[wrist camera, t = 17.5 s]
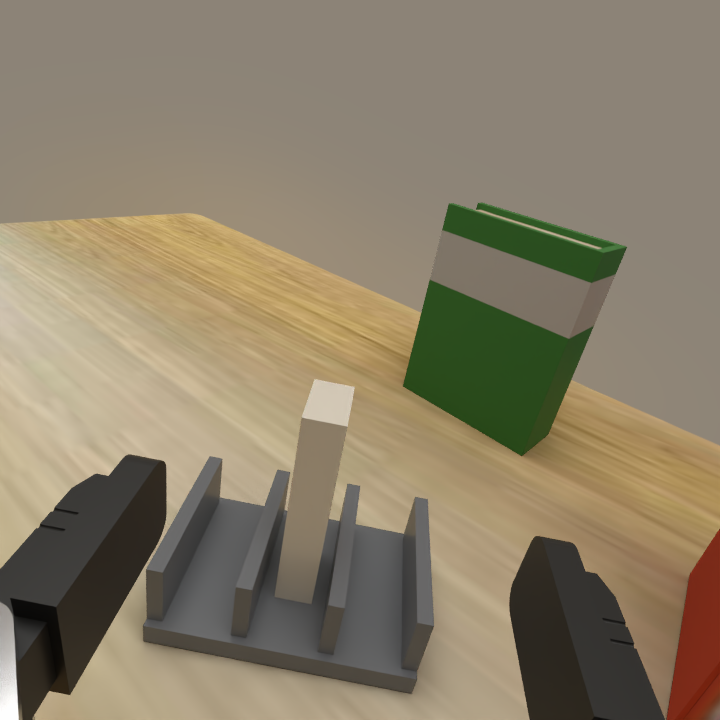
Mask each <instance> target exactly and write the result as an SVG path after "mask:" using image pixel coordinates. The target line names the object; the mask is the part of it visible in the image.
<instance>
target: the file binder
mask: <svg viewBox="0 0 720 720" xmlns="http://www.w3.org/2000/svg"><path fill="white" fill-rule="evenodd" d="M667 720H720V529H719V531H718V532H717V534H716V535H715V537H714V538H713V540H712V541H711V543H710V544H709V546H708V547H707V549H706V550H705V552H704V554H703V555H702V557H701V558H700V560H699V561H698V563H697V564H696V566H695V567H694V569H693V570H692V572H691V573H690V577H689V583H688V589H687V595H686V602H685V608H684V614H683V621H682V627H681V633H680V639H679V646H678V652H677V658H676V665H675V671H674V677H673V683H672V690H671V696H670V702H669V709H668V715H667Z"/></svg>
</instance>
